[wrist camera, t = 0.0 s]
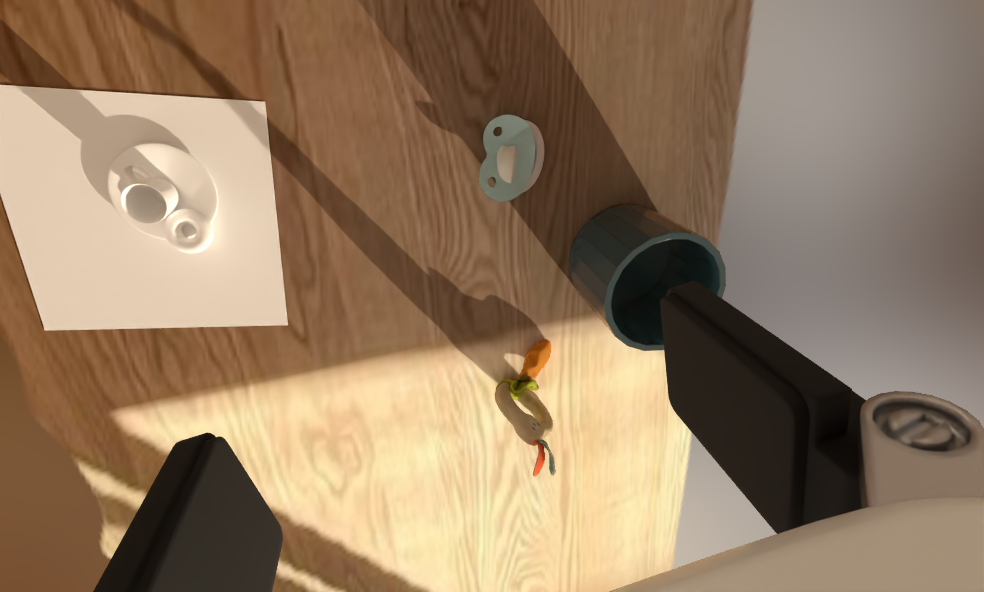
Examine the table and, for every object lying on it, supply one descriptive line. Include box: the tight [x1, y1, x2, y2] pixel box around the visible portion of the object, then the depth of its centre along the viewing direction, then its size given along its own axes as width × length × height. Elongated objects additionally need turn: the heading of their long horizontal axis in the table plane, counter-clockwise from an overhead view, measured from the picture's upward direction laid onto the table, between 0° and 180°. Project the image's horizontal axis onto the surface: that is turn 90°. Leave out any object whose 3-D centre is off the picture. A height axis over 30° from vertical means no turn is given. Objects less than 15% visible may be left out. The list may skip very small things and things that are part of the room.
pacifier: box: [479, 115, 544, 202], centre depth 43 cm, size 7×6×6 cm
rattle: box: [495, 340, 556, 477], centre depth 51 cm, size 8×8×12 cm
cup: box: [569, 204, 726, 351], centre depth 47 cm, size 11×11×10 cm
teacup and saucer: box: [106, 141, 219, 254], centre depth 39 cm, size 9×8×4 cm
